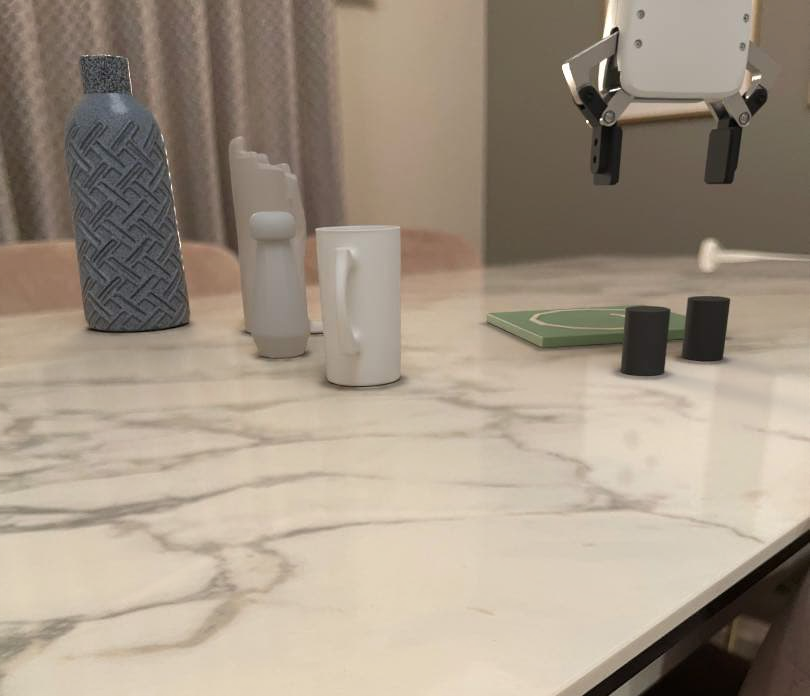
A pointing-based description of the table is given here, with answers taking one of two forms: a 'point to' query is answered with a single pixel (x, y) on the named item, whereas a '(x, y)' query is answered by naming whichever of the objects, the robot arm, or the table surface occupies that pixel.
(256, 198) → the foot sculpture
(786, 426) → the table surface
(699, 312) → the black upright cylinder
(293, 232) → the salt shaker
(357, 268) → the mug
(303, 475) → the table surface
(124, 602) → the table surface
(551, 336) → the face board
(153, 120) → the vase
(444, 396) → the table surface
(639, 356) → the black upright cylinder
